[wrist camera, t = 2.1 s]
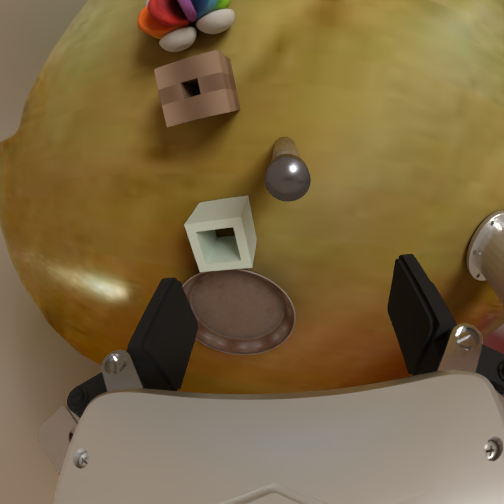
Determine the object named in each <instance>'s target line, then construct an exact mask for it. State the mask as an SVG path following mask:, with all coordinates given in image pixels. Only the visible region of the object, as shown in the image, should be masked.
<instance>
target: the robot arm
mask: <svg viewBox="0 0 504 504" xmlns="http://www.w3.org/2000/svg"><path fill="white" fill-rule="evenodd" d="M466 261H467V268H468V270H469V272H470V274H471V275H472V276H473V278H475V279H476V280H479V281H485V280H487V282H488V283H489V284H490V286H491V287H492V288H493V290H494V291H495V293H496V294H497V295H498V297H499V298H500V300H501V301H502V303H503V304H504V211H498V212H495V213H493V214H491V215H490V216H488V217H487V218H486V219H485V220H484V221H483V222H482V223H481V224H480V226H479V227H478V228H477V230H476V231H475V233H474V235H473V237H472V239H471V242H470V244H469V247H468V251H467V258H466ZM388 314H389V317H390V319H391V322H392V325H393V328H394V330H395V333H396V336H397V339H398V342H399V345H400V348H401V351H402V354H403V357H404V360H405V364H406V367H407V370H408V373H409V374H412V375H413V376H411V377H407V378H402V379H397V380H391V381H386V382H380V383H375V384H369V385H363V386H356V387H349V388H341V389H333V390H323V391H313V392H300V393H282V394H211V393H194V392H180V391H177V389H180V388H181V385H182V382H183V378H184V375H185V371H186V368H187V365H188V361H189V358H190V354H191V351H192V348H193V344H194V341H195V338H196V334H197V331H198V322H197V320H196V318H195V315H194V313H193V311H192V308H191V306H190V304H189V301H188V299H187V297H186V294H185V292H184V289H183V287H182V284H181V282H180V281H177V279H176V278H164V279H162V280H161V282H160V284H159V286H158V287H157V289H156V291H155V293H154V295H153V297H152V299H151V301H150V302H149V304H148V306H147V308H146V310H145V312H144V314H143V316H142V318H141V320H140V322H139V324H138V326H137V328H136V330H135V332H134V334H133V336H132V338H131V340H130V342H129V344H128V349H127V351H124V350H117V351H114V352H112V353H110V354H109V355H108V356H107V357H106V358H105V359H104V361H103V363H102V372H101V373H100V374H98V375H96V376H94V377H93V378H91V379H89V380H88V381H86V382H84V383H83V384H81V385H79V386H77V387H76V388H74V389H73V390H72V391H71V392H70V394H69V396H68V399H67V406H65V405H63V406H62V407H61V408H60V409H59V410H58V411H57V412H56V413H55V414H54V415H53V416H52V417H51V418H50V419H49V420H48V421H47V422H46V423H45V424H44V425H42V427H41V428H40V431H39V440H40V443H41V444H42V446H43V448H44V450H45V452H46V454H47V455H48V457H49V459H50V461H51V462H52V464H53V466H54V467H55V469H56V471H57V472H58V474H59V475H60V476H59V480H58V485H57V489H56V493H55V498H54V503H53V504H504V354H502V353H500V352H497V351H495V350H493V349H491V348H489V347H487V346H485V345H483V344H482V336H481V333H480V332H479V330H478V329H476V328H475V327H474V326H472V325H470V324H459V325H457V324H456V322H455V320H454V318H453V317H452V315H451V313H450V311H449V309H448V307H447V306H446V304H445V302H444V300H443V299H442V297H441V295H440V294H439V292H438V290H437V288H436V287H435V285H434V284H433V283H432V282H431V281H430V280H429V278H428V277H427V275H426V273H425V272H424V270H423V269H422V267H421V266H420V264H419V263H418V261H417V260H416V258H415V257H414V255H413V254H406V255H400V256H399V259H396V260H395V266H394V273H393V279H392V285H391V291H390V296H389V302H388Z"/></svg>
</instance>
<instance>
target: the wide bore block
mask: <svg viewBox="0 0 504 504" xmlns="http://www.w3.org/2000/svg"><path fill="white" fill-rule="evenodd" d="M184 226H185V229H186V232H187V235H188V238H189V241H190V244H191V247H192V250H193V253H194V256H195V259H196V262H197V265H198V268H199V271H200V272H208V271H220V270H231V269H242V268H252V266H253V260H254V254H255V248H256V242H257V238H256V233H255V228H254V223H253V218H252V213H251V208H250V202H249V197H248V195H247V196H239V197H233V198H226V199H219V200H213V201H207V202H200V203H199V204H198V206H197V207H196V209H195V210H194V211H193V213H192V214H191V216H190V217H189V219H188V220H187V221H186V223H185V224H184ZM231 227H233V228H234V232H235V235H233V236H224V237H217V236H216V232H215V229H223V228H231Z"/></svg>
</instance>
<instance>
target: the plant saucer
mask: <svg viewBox="0 0 504 504" xmlns="http://www.w3.org/2000/svg"><path fill="white" fill-rule="evenodd" d="M182 287H183V289H184V292H185V294H186V297H187V299H188V301H189V304H190V306H191V308H192V311H193V313H194V315H195V318H196V320H197V322H198V331H197V334H196V338H195V339H196V340H198V341H199V342H201V343H202V344H204V345H206V346H208V347H210V348H212V349H215V350H217V351H221V352H224V353H229V354H235V355H254V354H260V353H264V352H267V351H270V350H272V349H274V348H276V347H278V346H279V345H281V344H282V343H283V342H285V341H286V340H287V338H288V337H289V336H290V334H291V333H292V331H293V329H294V326H295V320H296V315H295V309H294V306H293V304H292V301H291V300H290V298H289V297H288V295H287V294H286V293H285V291H284V290H283V289H282V288H281V287H279V286H278V285H277V284H276V283H275V282H273V281H272V280H270V279H269V278H267V277H265V276H263V275H261V274H259V273H256V272H253V271H250V270H247V269H231V270H220V271H208V272H200V273H198V274H196V275H194V276H193V277H191V278H190V279H188V280H187V281H186V282H185V283H184V284H183V286H182Z"/></svg>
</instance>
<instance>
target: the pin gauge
mask: <svg viewBox="0 0 504 504" xmlns="http://www.w3.org/2000/svg"><path fill="white" fill-rule="evenodd" d="M265 184H266V187H267V190H268V191H269V193H270V194H271V195H272V196H273V197H275V198H277V199H279V200H282V201H294V200H297V199H299V198H301V197H302V196H304V195H305V194H306V192H307V191H308V189H309V186H310V174H309V171H308V168H307V166H306V164H305V162H304V161H303V160H302V159H301V158H300V157H299V154H298V151H297V148H296V145H295V143H294V141H293V140H292V139H290V138H288V137H281V138H279V139H278V140H277V141H276V142H275V144H274V149H273V157H272V160H271V161H270V163H269V164H268V166H267V170H266V175H265Z"/></svg>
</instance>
